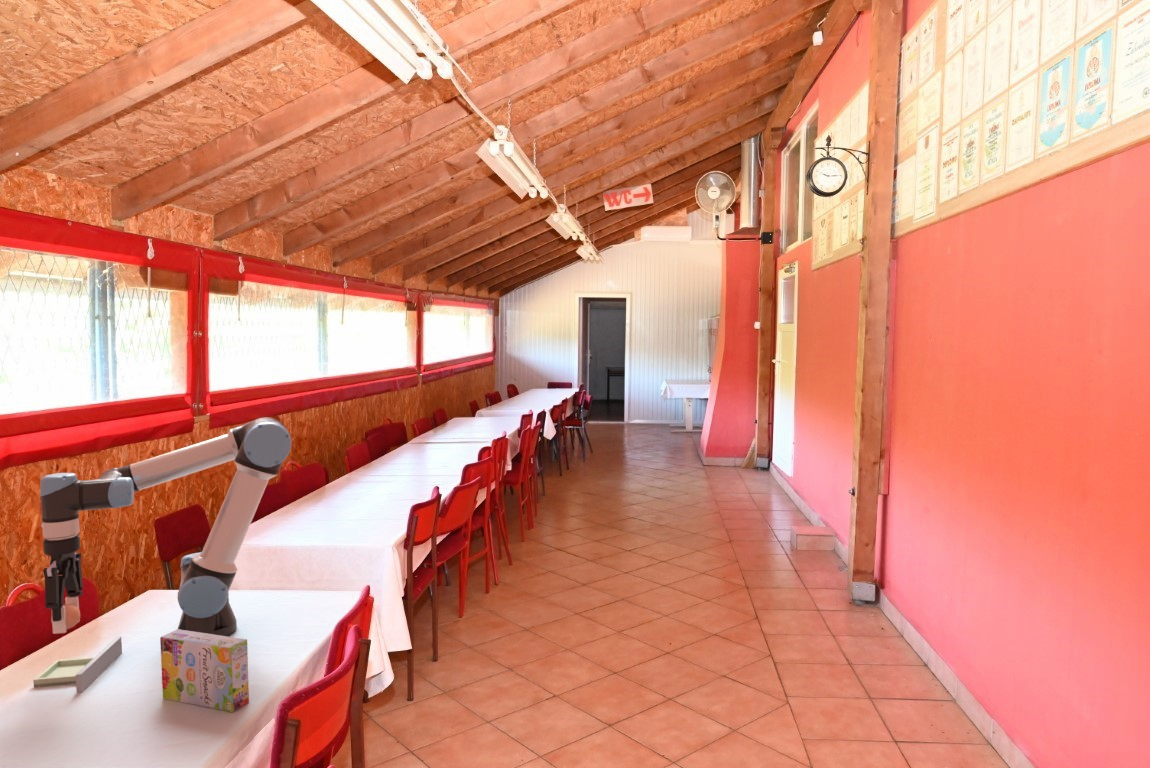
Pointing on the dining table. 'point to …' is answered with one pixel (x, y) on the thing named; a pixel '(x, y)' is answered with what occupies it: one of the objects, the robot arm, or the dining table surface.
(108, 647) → the divider wall
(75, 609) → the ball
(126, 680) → the dining table surface
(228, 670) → the snack box
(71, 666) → the tray
